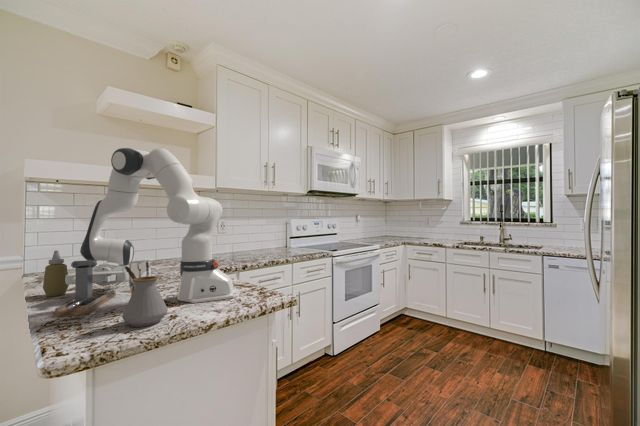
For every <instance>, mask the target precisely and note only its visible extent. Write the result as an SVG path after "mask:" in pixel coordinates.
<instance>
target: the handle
mask: <svg viewBox="0 0 640 426" xmlns="http://www.w3.org/2000/svg"><path fill="white" fill-rule="evenodd" d="M97 266H98V263H97V261H95V260H86V259H85V260H74V261H72V262H71V264H70V267H71V268H72V269H75V273H76V284H74V285H75V287H74V289H75V291H74V292H75V298H74V299H75V300H74V299H73V300H74V301H72V300H71V301H72V305H70V306H68V310H72V309H74V308H76V307H77V306H79V305H81V304H89V303H91V302H93V301H94V300H96V297H92V293H93V283H92V271H93V268H94V267H95V268H96V267H97Z"/></svg>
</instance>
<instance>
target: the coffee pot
mask: <svg viewBox="0 0 640 426" xmlns="http://www.w3.org/2000/svg"><path fill="white" fill-rule="evenodd" d="M123 269H124V268H123ZM123 269H122V271H123ZM125 269H126V271H127V272H128V273H129V275H130V277H131V278H132V279H133V281H134V282H135V286H136V287H135V289H134V291H133V293H132V295H131V294H130V298H129V299H128V303H127V304H126V306H125V309H124V311H123V312H122V317H121V318H122V319H123V321H124V323H126V324H129V325H130V327H135V328H140V327H148V326H152V325H156V324H158V323H159V322H161V320H162V319H163V318H164V317H165V316H166V315H167V313H168V306H167V305H166V302H165V301H164V298H163V296H162V295H161V293H160V291H159V289H158V287H157V280H158V279H159V276H157V275H155V276H154V275H151V276H147V277H139V278H136V276H135V275H134V273H133V272H132V271H131V269H129V267H127V266H126V267H125ZM123 272H124V271H123Z"/></svg>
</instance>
